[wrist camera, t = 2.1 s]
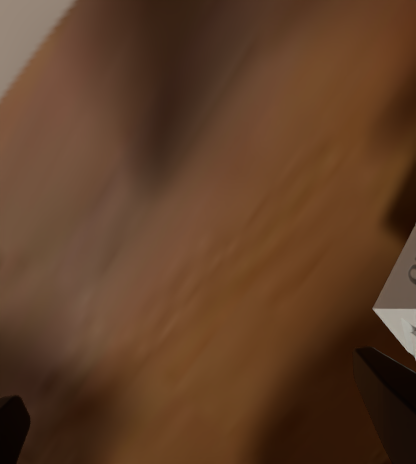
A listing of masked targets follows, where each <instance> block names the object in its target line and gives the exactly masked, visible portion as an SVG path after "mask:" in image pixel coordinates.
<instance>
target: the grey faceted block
mask: <svg viewBox="0 0 416 464" xmlns="http://www.w3.org/2000/svg"><path fill="white" fill-rule="evenodd" d="M372 309H373V310H374V311H375V312H376V314H377V315H378V316H379V317H380V318H381V320H382V321H383V322H384V323H385V325H386V326H387V327H388V328H389V329H390V331H391V332H392V333H393V334H394V335H395V337H396V338H397V339H398V340H399V342H400V343H401V344H402V345H403V346H404V348H405V349H406V350H407V351H408V352H409V353H411V354H412V355H414V357H415V359H416V224H415V226H414V228H413V230H412V232H411V234H410V236H409V238H408V240H407V242H406V244H405V246H404V248H403V250H402V252H401V254H400V256H399V258H398V260H397V262H396V263H395V265H394V267H393V269H392V271H391V273H390V275H389V277H388V279H387V281H386V283H385V285H384V287H383V289H382V291H381V293H380V295H379V297H378V299H377V301H376V303H375V305H374V307H373V308H372Z"/></svg>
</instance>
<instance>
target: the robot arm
mask: <svg viewBox="0 0 416 464" xmlns="http://www.w3.org/2000/svg"><path fill="white" fill-rule="evenodd" d="M353 372H354V378H355V382H356V384H357V387H358V389H359V391H360V394H361V396H362V398H363V401H364V403H365V405H366V408H367V410H368V412H369V415H370V417H371V419H372V422H373V424H374V426H375V428H376V431H377V433H378V435H379V438H380V440H381V442H382V444H383V446H384V448H385V450H386V452H387V454H388V456H389V458H390V460H391V462H392V463H393V464H416V373H415V372H414V371H412V370H410V369H408V368H407V367H405V366H403V365H402V364H400V363H398V362H397V361H395V360H393V359H392V358H390V357H388V356H387V355H385V354H383V353H381V352H380V351H378V350H376V349H375V348H373V347H371V346H364V347H356V348H354V349H353ZM29 427H30V415H29V413H28V411H27V409H26V407H25V405H24V403H23V400H22V398H21V397H20V396H18V395H13V396H5V397H2V398H0V464H16V463H17V460H18V458H19V455H20V452H21V449H22V447H23V444H24V441H25V438H26V436H27V433H28V430H29Z"/></svg>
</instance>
